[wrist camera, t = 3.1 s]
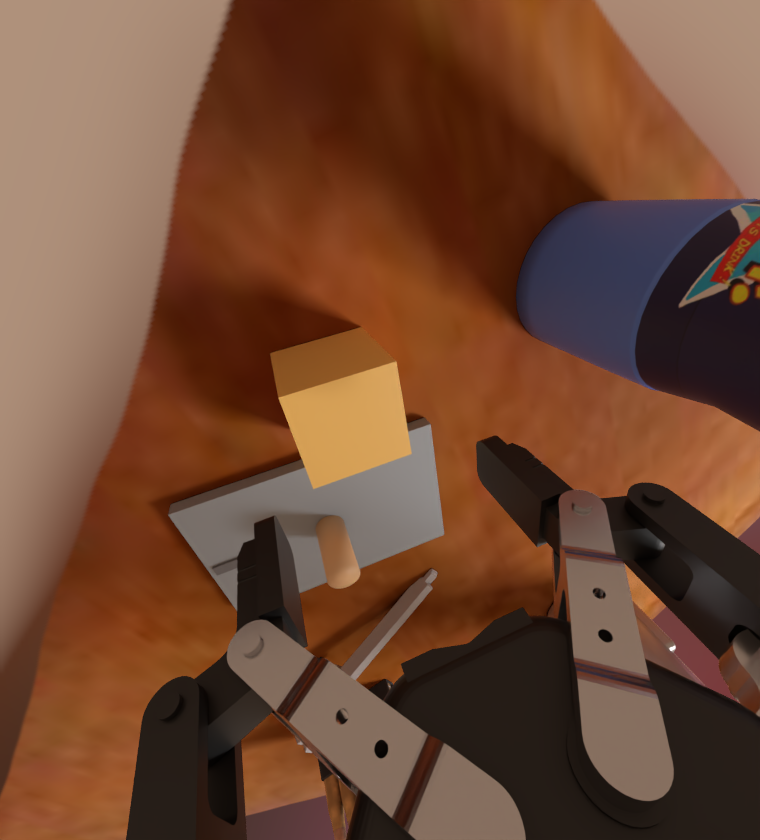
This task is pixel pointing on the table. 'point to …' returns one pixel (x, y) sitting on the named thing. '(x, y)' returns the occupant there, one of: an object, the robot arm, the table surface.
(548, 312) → the water bottle
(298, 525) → the post board
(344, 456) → the mustard yellow cube
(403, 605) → the caliper
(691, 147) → the table surface
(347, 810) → the ammunition clip
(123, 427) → the table surface
